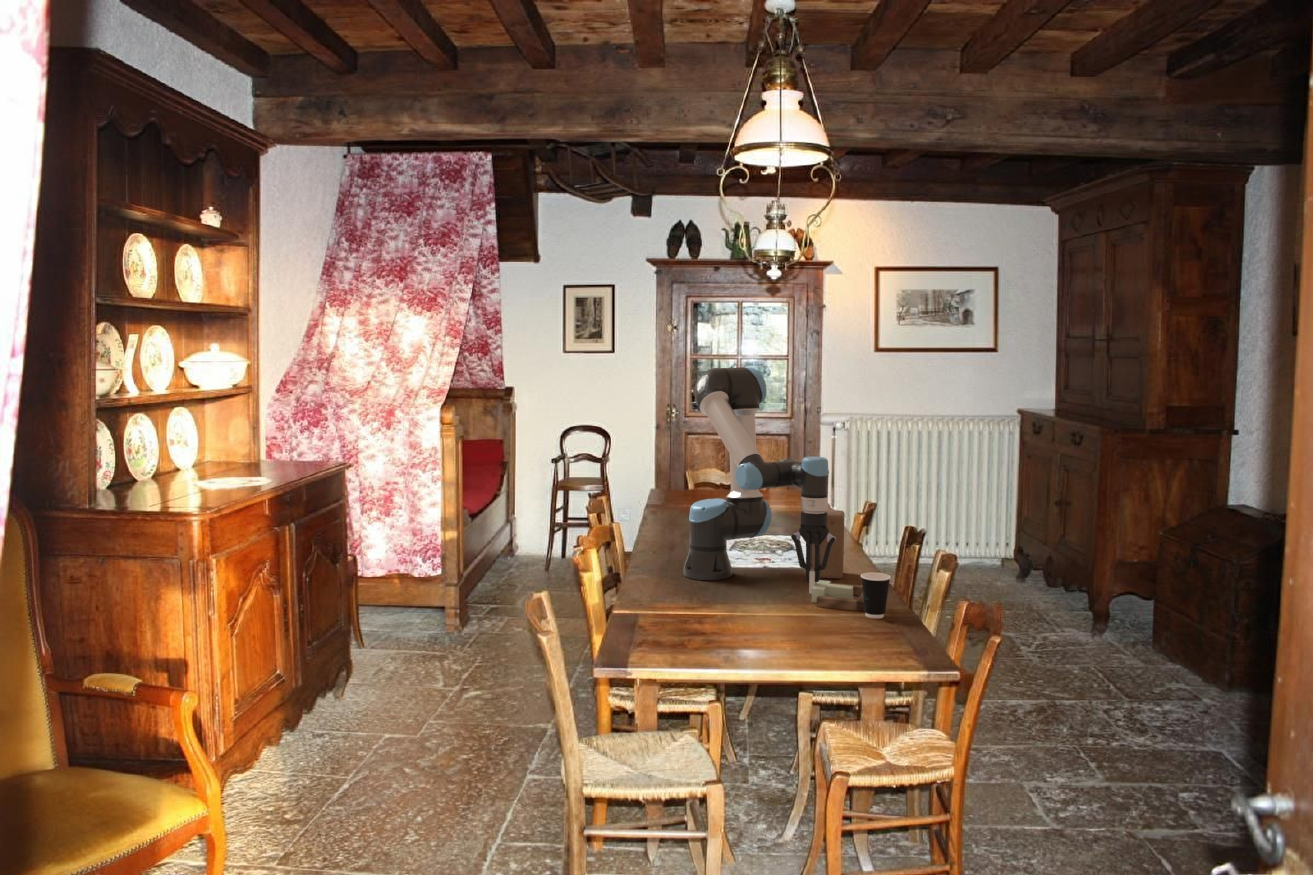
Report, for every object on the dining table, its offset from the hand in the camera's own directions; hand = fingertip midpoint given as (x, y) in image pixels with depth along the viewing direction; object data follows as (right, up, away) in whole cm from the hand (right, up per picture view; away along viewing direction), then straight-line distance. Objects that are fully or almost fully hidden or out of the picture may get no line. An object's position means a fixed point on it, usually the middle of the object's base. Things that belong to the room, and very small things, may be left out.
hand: (812, 592), depth 286 cm
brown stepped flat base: (+9, -2, -3) cm, 10 cm away
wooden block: (+9, +1, +27) cm, 28 cm away
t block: (+6, -2, -2) cm, 6 cm away
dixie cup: (+14, -4, -18) cm, 23 cm away
